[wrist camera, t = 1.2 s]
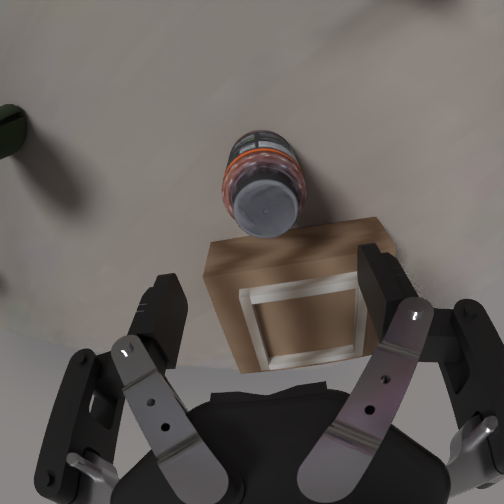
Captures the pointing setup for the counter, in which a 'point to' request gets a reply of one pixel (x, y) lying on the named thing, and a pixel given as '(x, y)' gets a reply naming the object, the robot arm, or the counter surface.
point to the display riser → (294, 295)
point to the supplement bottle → (263, 185)
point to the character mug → (10, 130)
